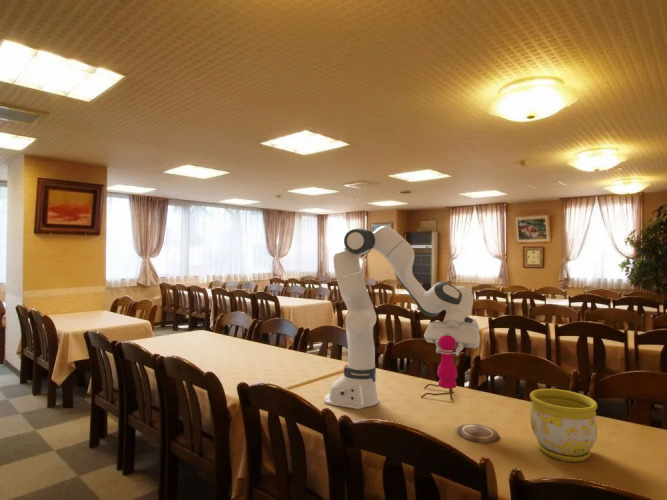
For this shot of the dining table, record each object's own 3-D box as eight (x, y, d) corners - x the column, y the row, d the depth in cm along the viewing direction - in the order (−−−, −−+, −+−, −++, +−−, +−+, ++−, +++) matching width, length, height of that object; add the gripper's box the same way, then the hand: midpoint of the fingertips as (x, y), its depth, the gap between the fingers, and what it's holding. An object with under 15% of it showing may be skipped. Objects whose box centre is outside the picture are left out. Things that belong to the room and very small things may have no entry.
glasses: (452, 402, 167) (452, 389, 167) (420, 398, 171) (420, 386, 171) (452, 392, 179) (452, 380, 179) (423, 389, 183) (423, 378, 183)
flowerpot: (518, 439, 131) (518, 389, 131) (570, 437, 133) (570, 387, 133) (553, 468, 113) (553, 409, 114) (613, 465, 115) (612, 407, 115)
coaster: (458, 440, 130) (458, 437, 130) (456, 424, 143) (456, 421, 143) (501, 444, 127) (501, 441, 127) (494, 427, 140) (494, 425, 140)
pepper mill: (458, 389, 143) (458, 333, 143) (438, 388, 144) (437, 332, 144) (456, 383, 150) (456, 329, 150) (436, 382, 151) (436, 329, 151)
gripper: (427, 315, 159) (417, 344, 151) (480, 320, 147) (472, 352, 139) (431, 325, 162) (422, 354, 154) (483, 330, 150) (476, 362, 142)
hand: (446, 353), depth 146 cm, fingers closed on pepper mill, 5 cm apart
